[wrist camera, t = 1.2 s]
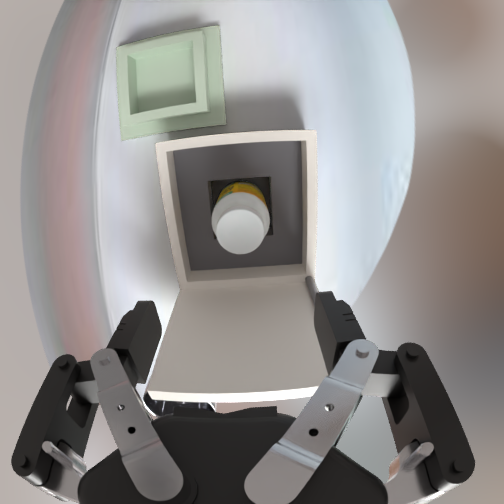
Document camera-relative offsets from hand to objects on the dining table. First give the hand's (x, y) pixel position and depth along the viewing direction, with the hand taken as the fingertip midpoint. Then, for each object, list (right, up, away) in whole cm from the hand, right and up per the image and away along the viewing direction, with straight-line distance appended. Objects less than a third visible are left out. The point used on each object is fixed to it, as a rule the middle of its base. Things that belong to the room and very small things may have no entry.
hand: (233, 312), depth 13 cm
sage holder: (-8, +22, +11) cm, 26 cm away
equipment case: (0, +8, +18) cm, 20 cm away
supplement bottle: (0, +9, +18) cm, 20 cm away
